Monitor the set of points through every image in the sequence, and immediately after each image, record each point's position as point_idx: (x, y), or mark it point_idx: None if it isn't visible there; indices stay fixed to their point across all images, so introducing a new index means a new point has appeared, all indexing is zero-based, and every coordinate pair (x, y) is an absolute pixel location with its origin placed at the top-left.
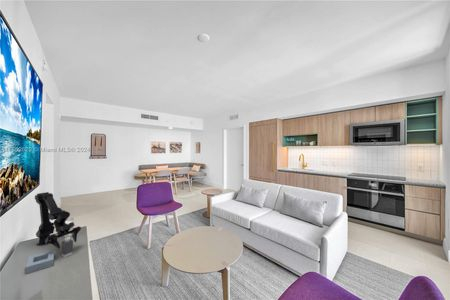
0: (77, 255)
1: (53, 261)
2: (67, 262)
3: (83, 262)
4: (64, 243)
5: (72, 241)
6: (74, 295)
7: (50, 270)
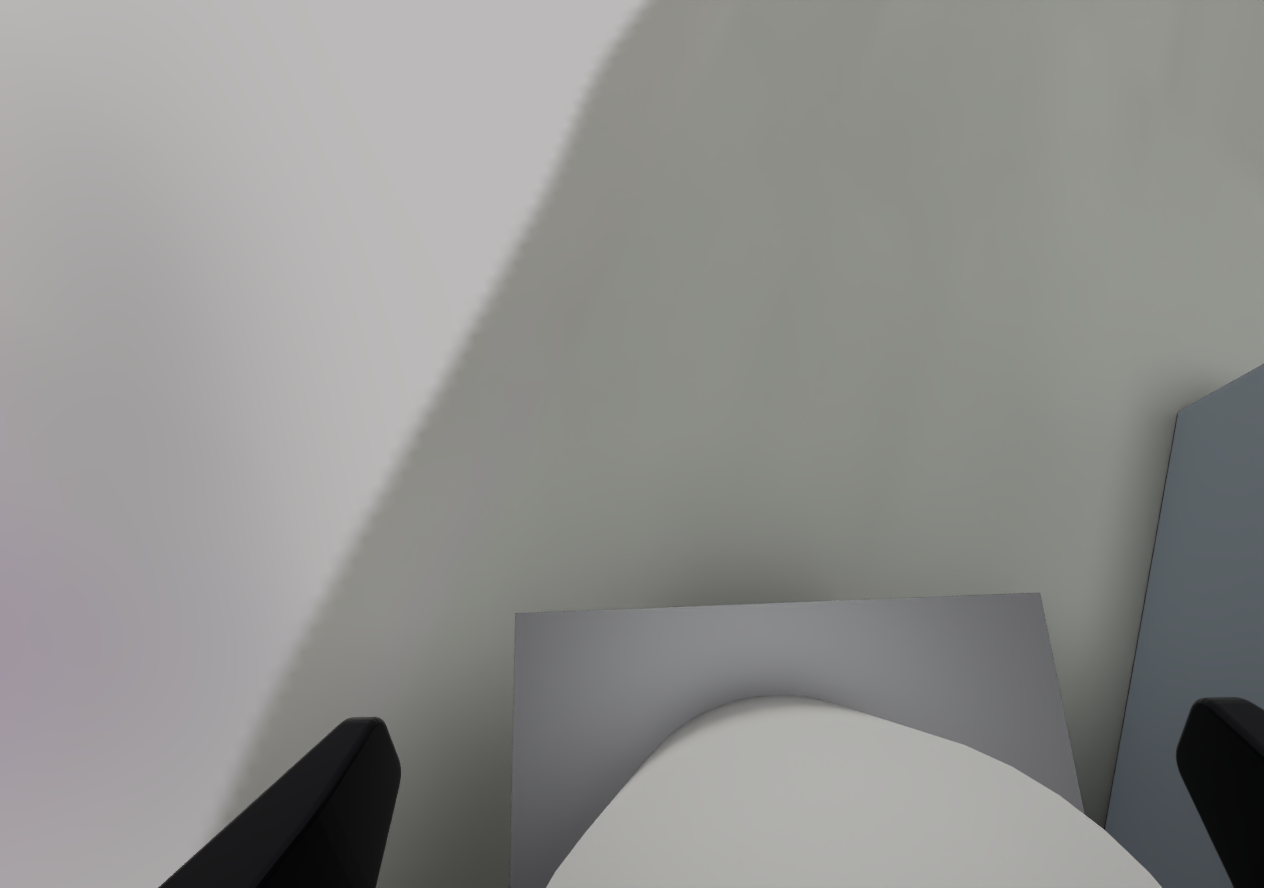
0: (602, 423)
1: (1164, 593)
2: (883, 281)
3: (672, 23)
4: (1050, 688)
5: (559, 613)
6: None
7: (1258, 238)
